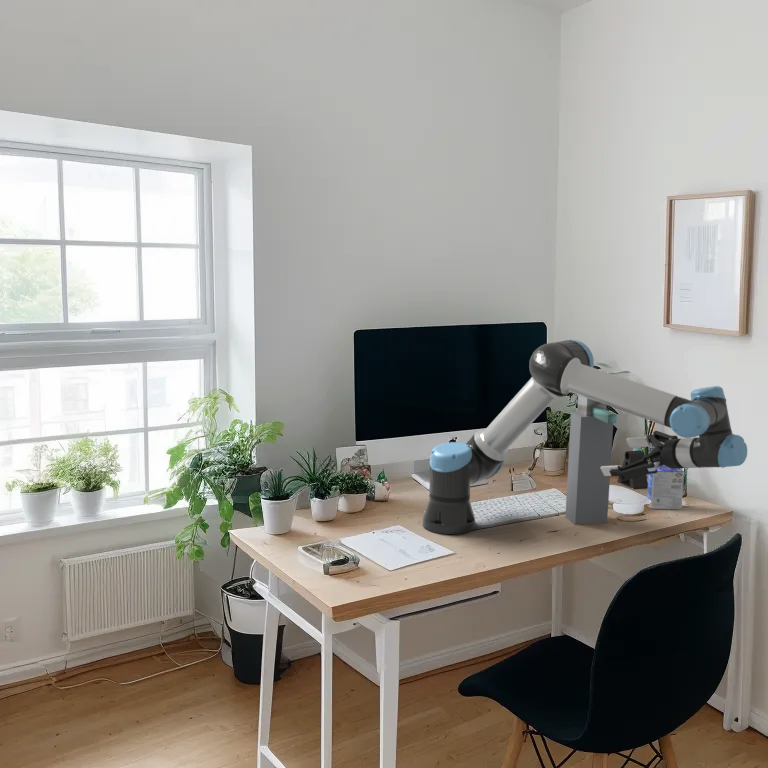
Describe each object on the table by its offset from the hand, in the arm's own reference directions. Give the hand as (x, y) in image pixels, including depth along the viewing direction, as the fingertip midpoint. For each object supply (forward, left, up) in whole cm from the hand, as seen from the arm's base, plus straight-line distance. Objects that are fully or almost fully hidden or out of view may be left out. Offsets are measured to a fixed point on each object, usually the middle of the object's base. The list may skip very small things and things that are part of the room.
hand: (615, 456), depth 214 cm
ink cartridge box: (+30, +24, -23) cm, 45 cm away
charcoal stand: (0, +15, -23) cm, 28 cm away
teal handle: (0, +11, +9) cm, 14 cm away
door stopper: (+32, +48, -23) cm, 62 cm away
